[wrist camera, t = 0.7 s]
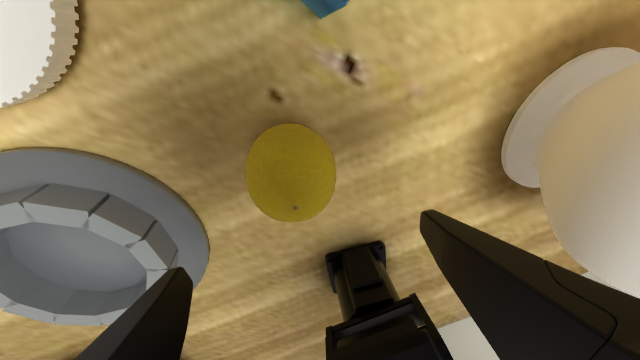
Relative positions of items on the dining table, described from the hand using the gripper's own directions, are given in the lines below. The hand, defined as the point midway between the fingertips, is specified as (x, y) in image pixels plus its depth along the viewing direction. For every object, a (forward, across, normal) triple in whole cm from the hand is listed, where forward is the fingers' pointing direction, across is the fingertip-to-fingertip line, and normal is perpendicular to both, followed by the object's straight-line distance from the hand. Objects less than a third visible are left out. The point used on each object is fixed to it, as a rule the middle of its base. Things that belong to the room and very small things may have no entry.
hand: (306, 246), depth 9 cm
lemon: (+11, 0, 0) cm, 11 cm away
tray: (+11, +18, +5) cm, 22 cm away
